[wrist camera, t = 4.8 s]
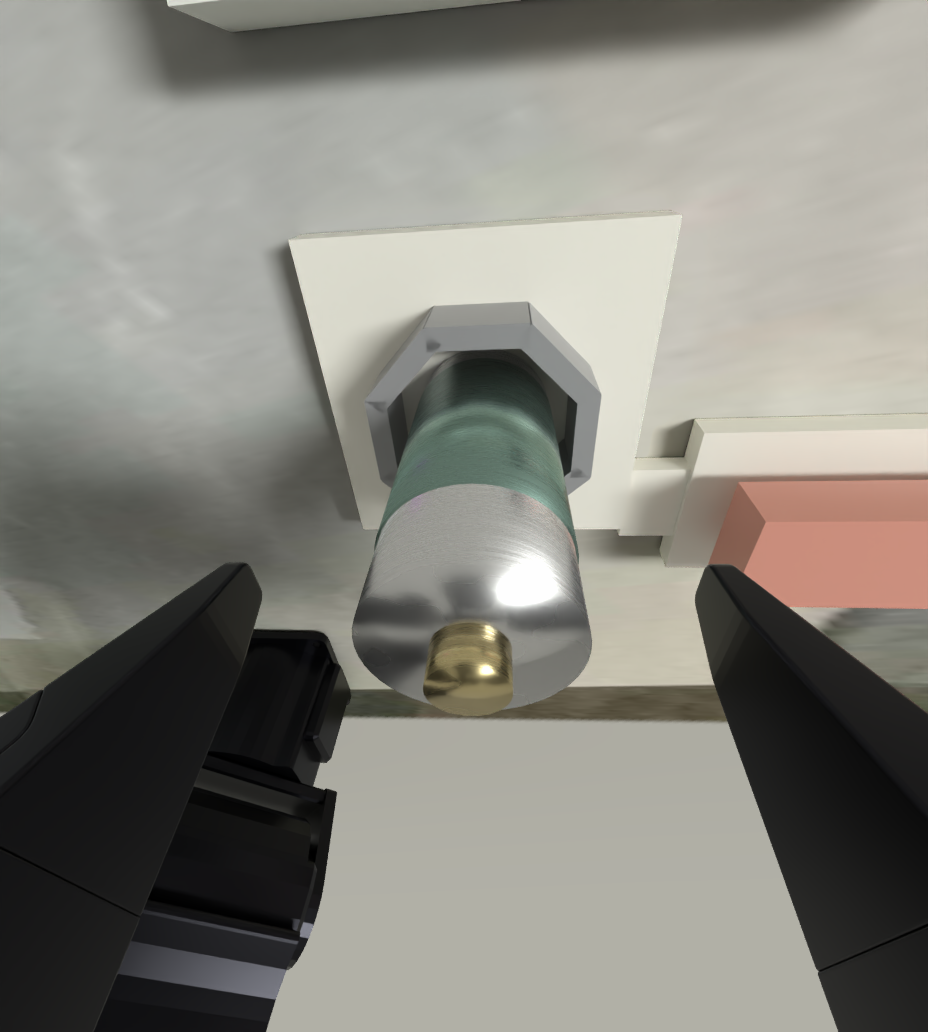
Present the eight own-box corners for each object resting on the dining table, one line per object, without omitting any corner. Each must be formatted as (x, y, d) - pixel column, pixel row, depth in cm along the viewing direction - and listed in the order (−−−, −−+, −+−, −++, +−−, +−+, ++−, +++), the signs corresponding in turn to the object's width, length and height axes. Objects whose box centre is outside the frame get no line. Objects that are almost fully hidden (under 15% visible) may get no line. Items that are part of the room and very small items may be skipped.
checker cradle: (377, 549, 20) (361, 601, 18) (301, 234, 13) (256, 253, 11) (1032, 551, 18) (1111, 611, 16) (1402, 162, 10) (1658, 167, 8)
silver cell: (427, 465, 16) (363, 749, 9) (413, 348, 14) (303, 603, 6) (545, 463, 16) (588, 757, 8) (553, 342, 13) (624, 607, 6)
